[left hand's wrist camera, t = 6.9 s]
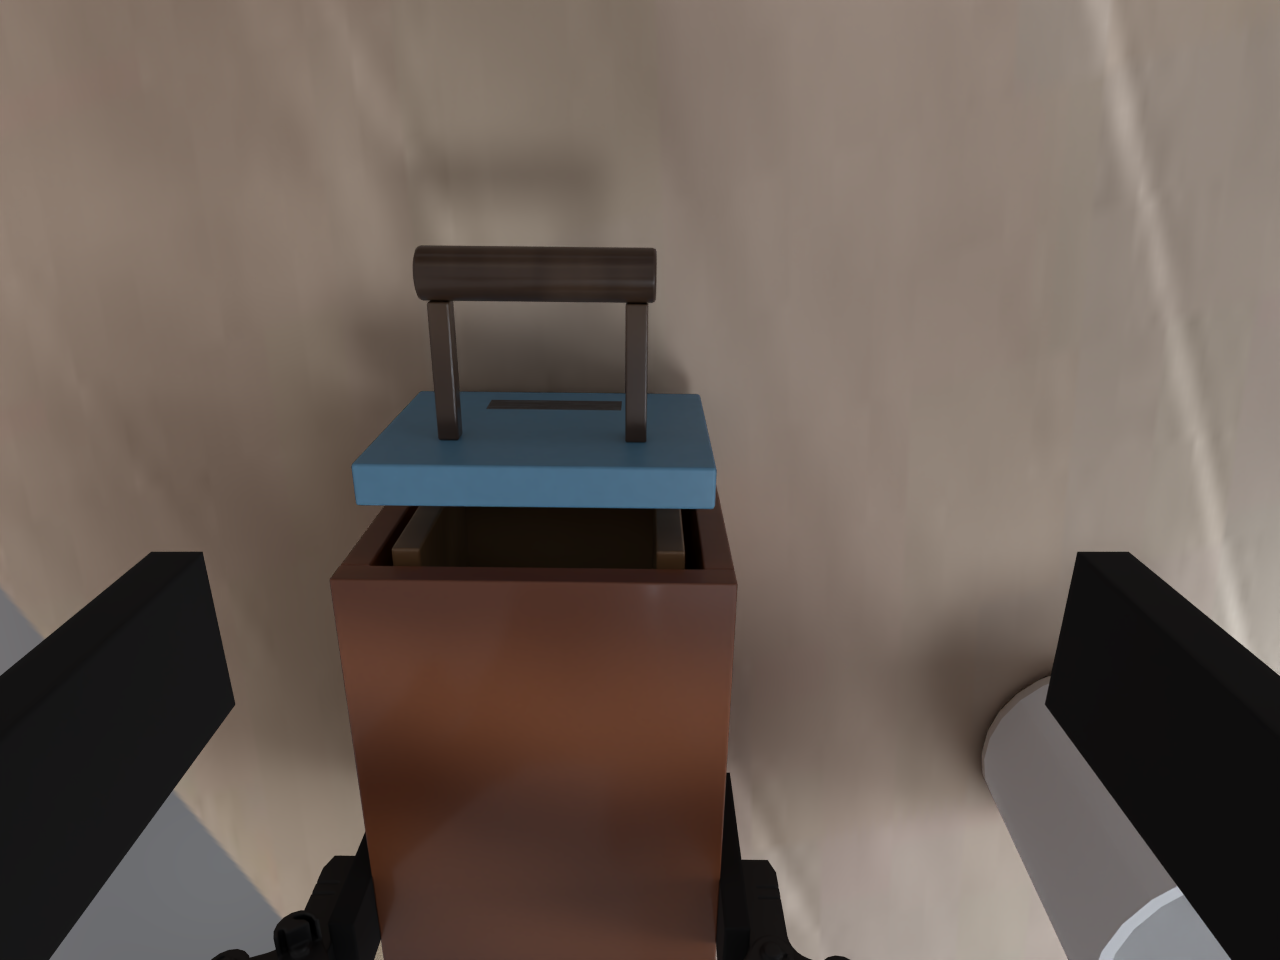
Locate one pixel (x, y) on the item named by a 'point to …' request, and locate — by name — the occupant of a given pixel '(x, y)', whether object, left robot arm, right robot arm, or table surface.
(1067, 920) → the mug
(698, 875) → the cabinet
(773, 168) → the table surface
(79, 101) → the table surface
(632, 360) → the drawer
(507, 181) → the table surface
